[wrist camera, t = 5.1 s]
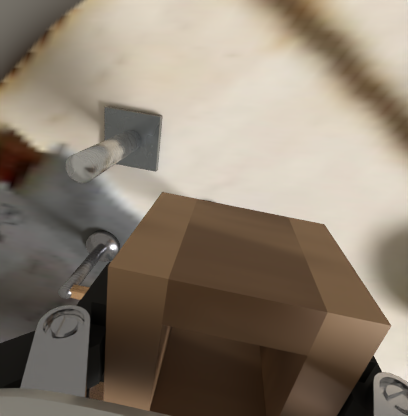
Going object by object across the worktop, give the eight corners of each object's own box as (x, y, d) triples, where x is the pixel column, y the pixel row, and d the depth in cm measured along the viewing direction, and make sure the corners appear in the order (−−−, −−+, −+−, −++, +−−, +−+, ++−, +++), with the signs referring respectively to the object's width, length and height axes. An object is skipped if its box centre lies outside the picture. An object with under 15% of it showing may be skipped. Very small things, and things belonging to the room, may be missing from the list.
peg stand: (157, 169, 24) (118, 212, 16) (107, 160, 24) (44, 198, 16) (162, 116, 22) (120, 135, 14) (108, 106, 22) (36, 120, 14)
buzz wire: (234, 227, 25) (234, 277, 19) (111, 275, 29) (75, 329, 23) (210, 179, 23) (200, 216, 17) (82, 237, 27) (36, 284, 21)
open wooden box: (278, 341, 13) (301, 475, 9) (148, 313, 13) (102, 429, 9) (324, 224, 11) (391, 325, 6) (162, 192, 11) (108, 266, 6)
